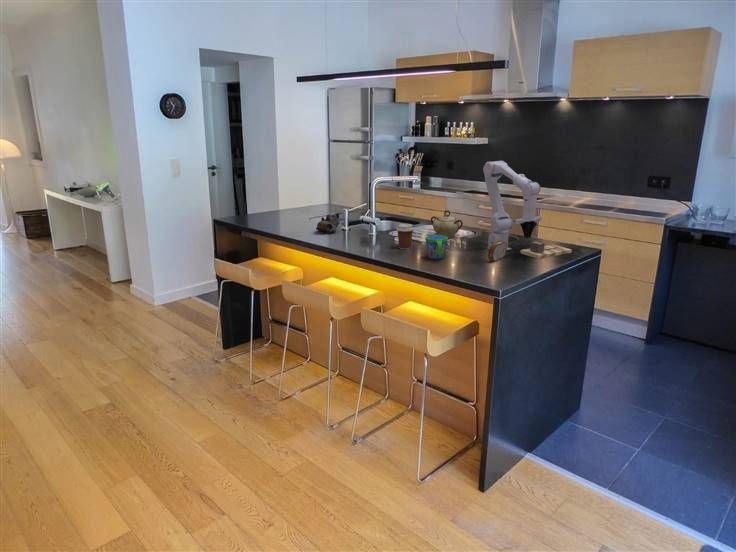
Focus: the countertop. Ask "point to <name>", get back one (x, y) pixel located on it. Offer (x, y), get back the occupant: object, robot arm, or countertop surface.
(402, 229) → the coffee cup
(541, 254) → the fader board
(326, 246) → the countertop surface
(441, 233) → the sugar bowl
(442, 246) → the snack cup
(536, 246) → the fader knob
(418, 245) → the countertop surface
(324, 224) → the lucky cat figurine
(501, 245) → the tin
